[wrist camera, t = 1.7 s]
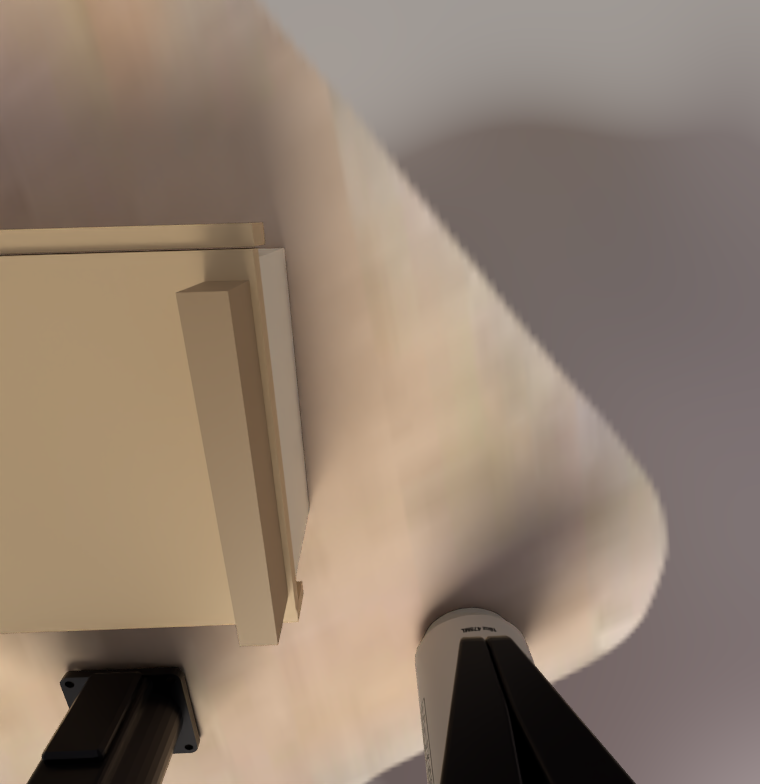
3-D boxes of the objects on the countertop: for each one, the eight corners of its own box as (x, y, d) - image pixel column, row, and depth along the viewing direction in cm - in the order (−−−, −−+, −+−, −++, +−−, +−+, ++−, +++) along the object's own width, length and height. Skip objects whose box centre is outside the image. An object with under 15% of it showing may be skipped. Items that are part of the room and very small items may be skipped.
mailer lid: (303, 593, 18) (288, 677, 15) (-62, 607, 18) (-160, 695, 15) (262, 222, 13) (227, 223, 10) (-239, 236, 13) (-446, 242, 10)
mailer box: (309, 509, 22) (293, 588, 17) (14, 520, 22) (-82, 602, 17) (284, 247, 18) (254, 258, 13) (-82, 258, 18) (-245, 272, 13)
